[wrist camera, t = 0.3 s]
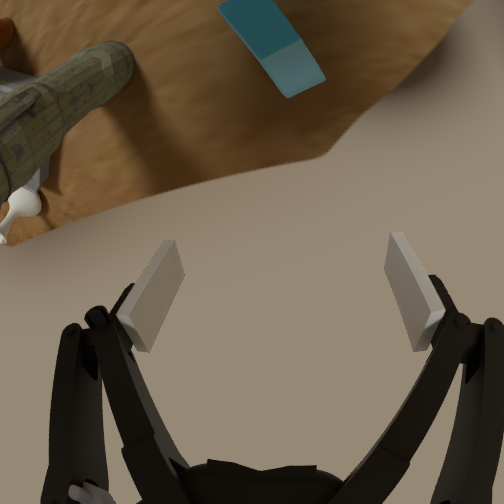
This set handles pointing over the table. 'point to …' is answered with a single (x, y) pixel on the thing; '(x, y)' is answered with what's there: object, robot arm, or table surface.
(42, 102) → the thermos
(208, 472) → the robot arm
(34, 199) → the flower in vase
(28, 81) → the box
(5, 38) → the disposable coffee cup
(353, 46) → the table surface
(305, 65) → the data package
